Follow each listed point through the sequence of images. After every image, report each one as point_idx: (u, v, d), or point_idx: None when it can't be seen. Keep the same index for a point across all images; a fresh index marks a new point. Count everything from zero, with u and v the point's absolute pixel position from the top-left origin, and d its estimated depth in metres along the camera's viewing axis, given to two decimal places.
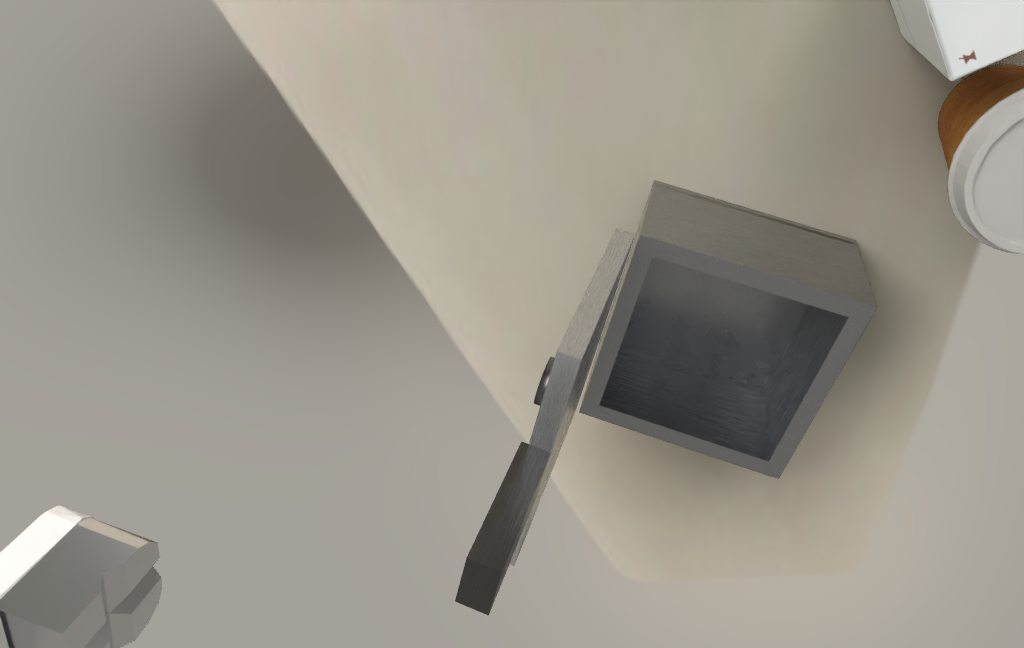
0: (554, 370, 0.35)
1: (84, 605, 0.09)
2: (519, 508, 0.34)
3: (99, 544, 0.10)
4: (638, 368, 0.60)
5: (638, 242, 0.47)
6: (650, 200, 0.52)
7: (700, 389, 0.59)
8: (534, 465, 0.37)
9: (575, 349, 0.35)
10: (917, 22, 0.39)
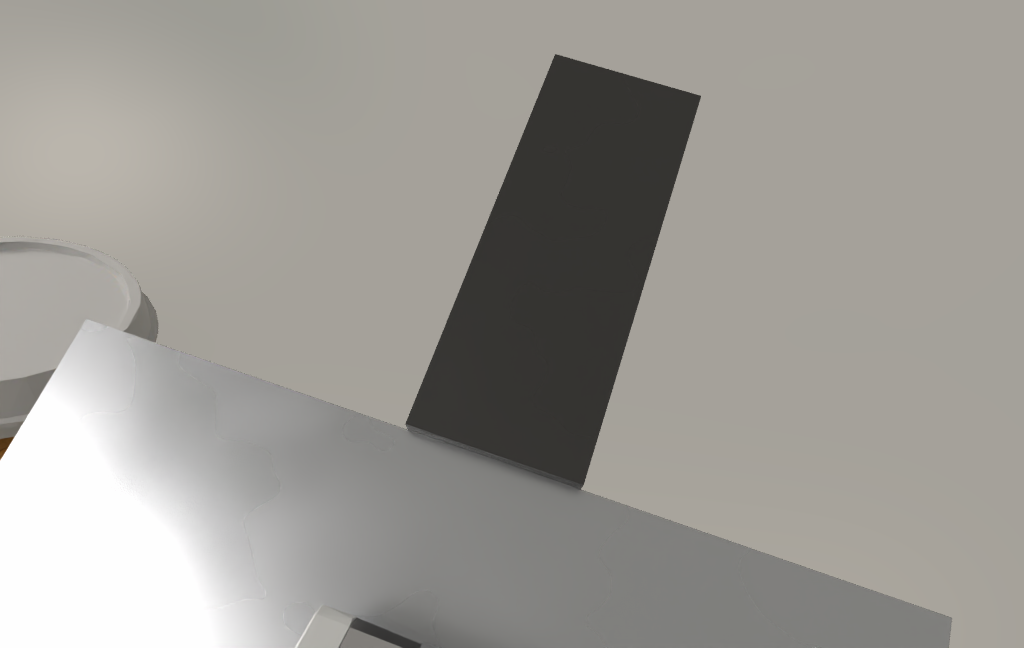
0: (146, 341, 0.13)
1: None
2: None
3: (373, 647, 0.10)
4: None
5: None
6: None
7: None
8: None
9: None
10: None
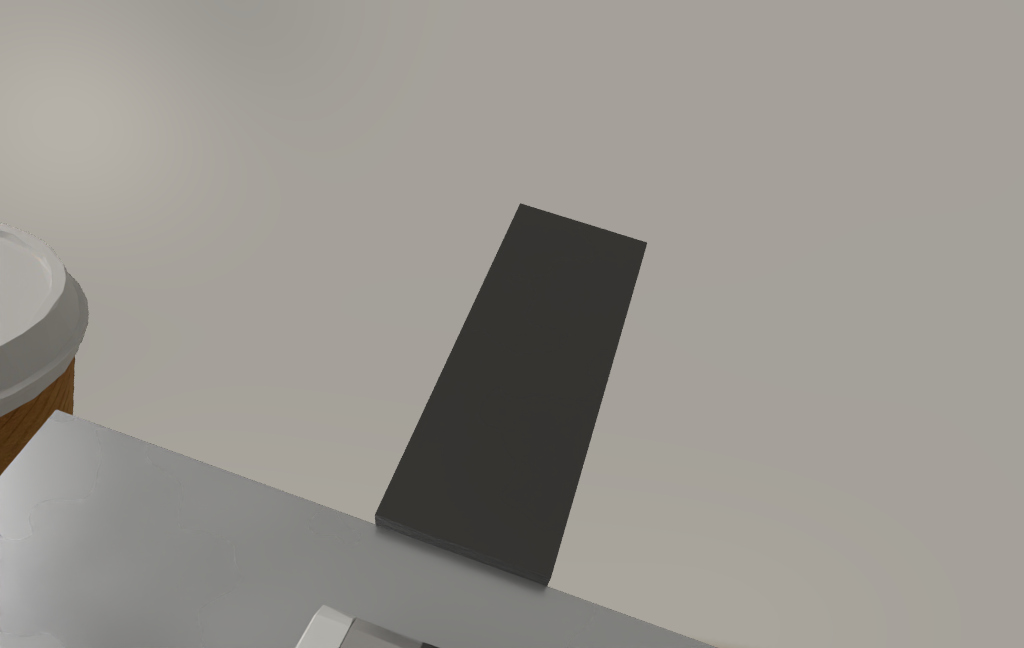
0: (115, 433, 0.13)
1: None
2: None
3: (374, 647, 0.10)
4: None
5: None
6: None
7: None
8: None
9: None
10: None
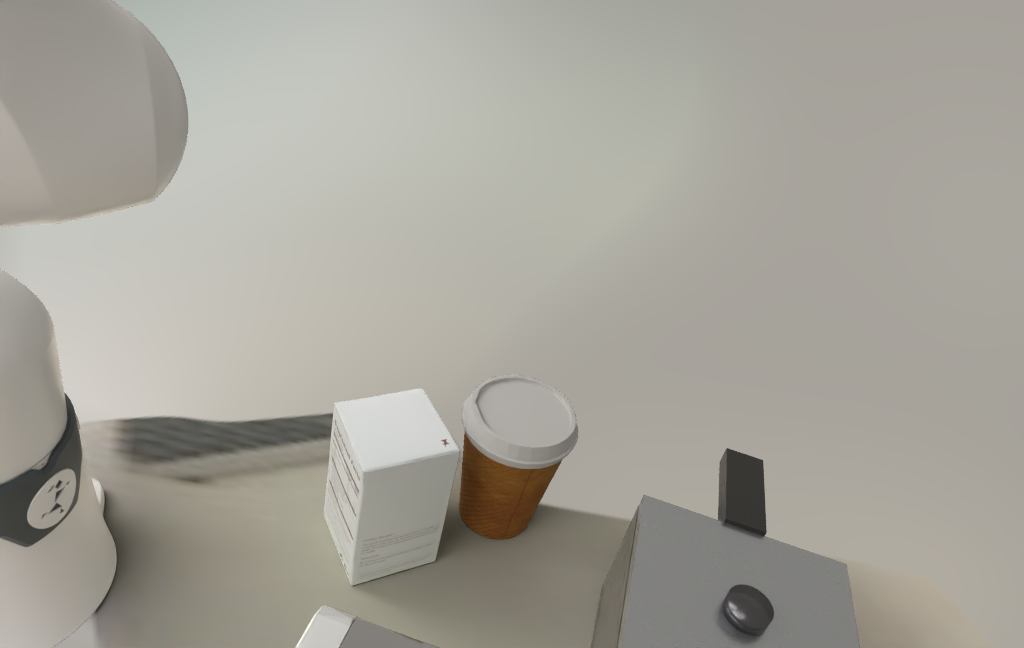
0: (658, 501, 0.55)
1: None
2: (720, 489, 0.58)
3: (374, 647, 0.10)
4: None
5: None
6: None
7: None
8: (720, 515, 0.56)
9: (640, 507, 0.55)
10: (421, 494, 0.54)
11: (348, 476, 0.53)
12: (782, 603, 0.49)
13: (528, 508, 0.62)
